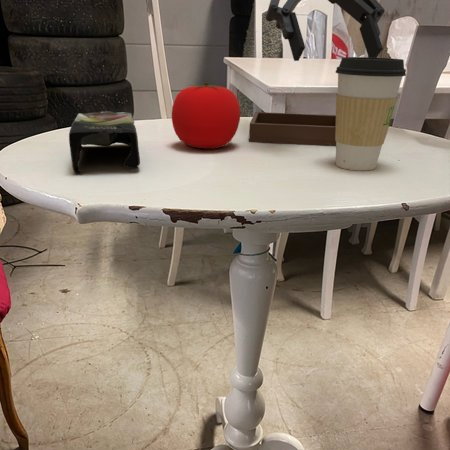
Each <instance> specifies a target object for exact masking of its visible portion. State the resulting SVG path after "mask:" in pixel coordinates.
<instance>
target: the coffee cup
mask: <svg viewBox="0 0 450 450" xmlns="http://www.w3.org/2000/svg"><path fill="white" fill-rule="evenodd" d="M335 74H337V93H336V95H335V115H336V131H335V141H336V146H335V166H336V167H339V168H341V169H345V170H351V171H371V170H374V169H376V168H377V164H378V162H379V157H380V155H381V151H382V148H383V145H384V144H385V140H386V137H387V133H388V130H389V127H390V124H391V121H392V118H393V114H394V111H395V107H396V104H397V101H398V93H399V90H400V87H401V83H402V80H403V77H406V76H407V70H406V69H405V60H404V59H401V58H392V57H390V58H389V57H377V58H371V57H367V56H345V57H344V56H343V57H341V60H340V62H339V65H338V66H336V70H335Z"/></svg>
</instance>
